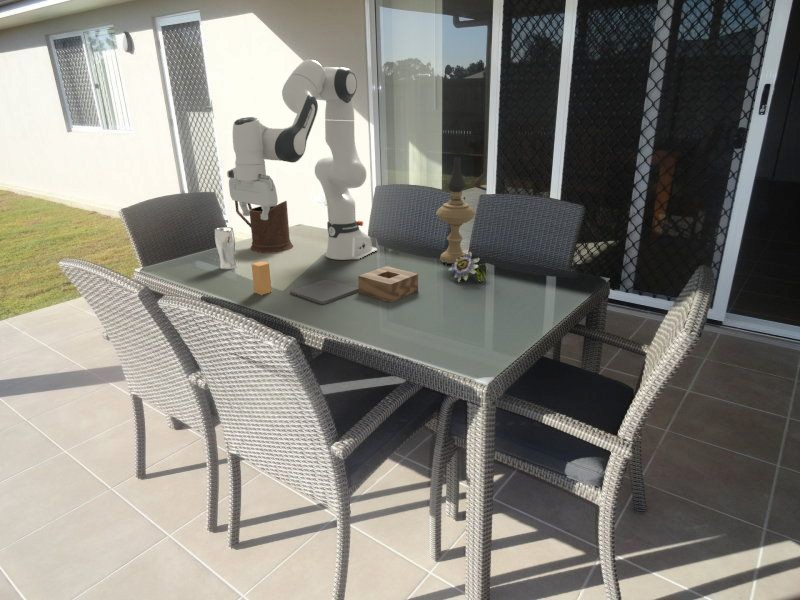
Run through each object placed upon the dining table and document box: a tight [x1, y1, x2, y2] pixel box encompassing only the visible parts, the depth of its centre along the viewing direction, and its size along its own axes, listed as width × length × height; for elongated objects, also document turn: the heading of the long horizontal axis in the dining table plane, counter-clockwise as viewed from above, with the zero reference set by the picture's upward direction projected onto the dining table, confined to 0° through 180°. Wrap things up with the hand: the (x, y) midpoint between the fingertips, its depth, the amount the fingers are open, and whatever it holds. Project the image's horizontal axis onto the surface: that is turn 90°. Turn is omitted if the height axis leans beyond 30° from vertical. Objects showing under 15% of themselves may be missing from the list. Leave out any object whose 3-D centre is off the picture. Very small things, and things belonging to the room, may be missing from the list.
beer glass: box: [214, 226, 237, 271], centre depth 203 cm, size 7×7×15 cm
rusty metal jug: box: [234, 200, 294, 254], centre depth 229 cm, size 18×24×25 cm
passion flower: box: [447, 251, 488, 282], centre depth 189 cm, size 11×11×12 cm
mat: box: [289, 278, 359, 306], centre depth 178 cm, size 16×16×1 cm
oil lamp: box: [435, 156, 476, 263], centre depth 205 cm, size 15×15×40 cm
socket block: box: [357, 265, 419, 303], centre depth 177 cm, size 14×14×6 cm
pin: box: [251, 261, 272, 296], centre depth 177 cm, size 4×4×10 cm
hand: (255, 217), depth 170 cm, fingers open, 8 cm apart
